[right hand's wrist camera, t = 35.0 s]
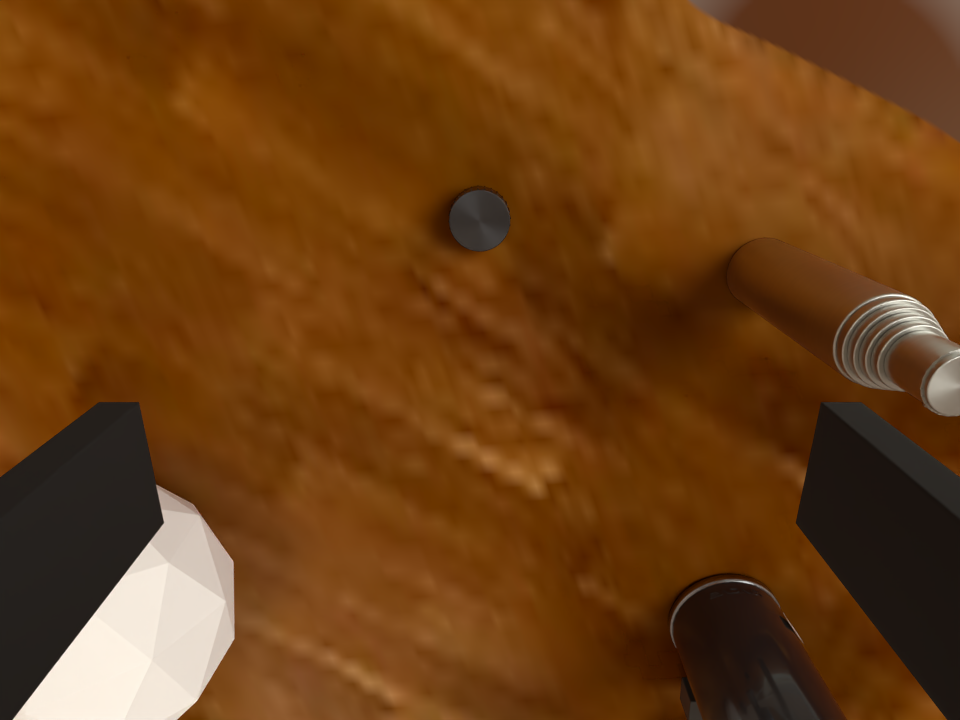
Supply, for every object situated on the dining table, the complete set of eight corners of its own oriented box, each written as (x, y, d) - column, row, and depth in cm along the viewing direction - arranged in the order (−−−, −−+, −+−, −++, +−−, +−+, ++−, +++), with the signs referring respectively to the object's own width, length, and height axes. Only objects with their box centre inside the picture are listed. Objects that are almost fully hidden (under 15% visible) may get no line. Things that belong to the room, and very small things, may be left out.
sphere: (141, 446, 57) (-58, 396, 38) (325, 562, 53) (205, 573, 34) (5, 646, 53) (-293, 703, 34) (191, 788, 49) (-29, 944, 30)
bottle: (712, 286, 45) (877, 408, 26) (752, 225, 44) (957, 309, 25) (767, 315, 46) (965, 455, 27) (809, 257, 44) (1049, 362, 26)
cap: (463, 254, 44) (463, 261, 42) (440, 199, 43) (438, 204, 41) (518, 232, 44) (520, 238, 42) (496, 175, 42) (496, 179, 40)
